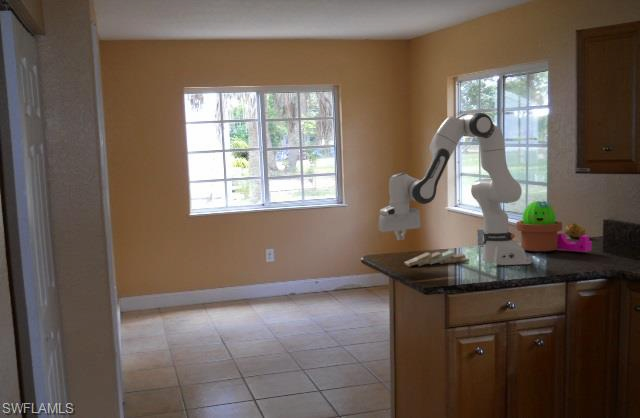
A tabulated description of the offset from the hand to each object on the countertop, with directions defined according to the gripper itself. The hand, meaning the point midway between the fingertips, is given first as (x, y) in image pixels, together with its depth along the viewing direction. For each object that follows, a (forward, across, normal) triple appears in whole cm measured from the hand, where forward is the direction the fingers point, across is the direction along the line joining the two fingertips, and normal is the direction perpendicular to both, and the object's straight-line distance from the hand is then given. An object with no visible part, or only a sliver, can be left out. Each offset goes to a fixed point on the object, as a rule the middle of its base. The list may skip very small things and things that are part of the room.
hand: (400, 239), depth 300 cm
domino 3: (+13, -22, +1) cm, 26 cm away
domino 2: (+12, -19, +1) cm, 23 cm away
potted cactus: (+14, -83, -5) cm, 84 cm away
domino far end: (+12, -3, -1) cm, 12 cm away
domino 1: (+12, -8, 0) cm, 14 cm away
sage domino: (+12, -14, 0) cm, 18 cm away
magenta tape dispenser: (+14, -96, +5) cm, 97 cm away
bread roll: (+14, -128, -30) cm, 133 cm away
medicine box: (+14, -68, -31) cm, 76 cm away
